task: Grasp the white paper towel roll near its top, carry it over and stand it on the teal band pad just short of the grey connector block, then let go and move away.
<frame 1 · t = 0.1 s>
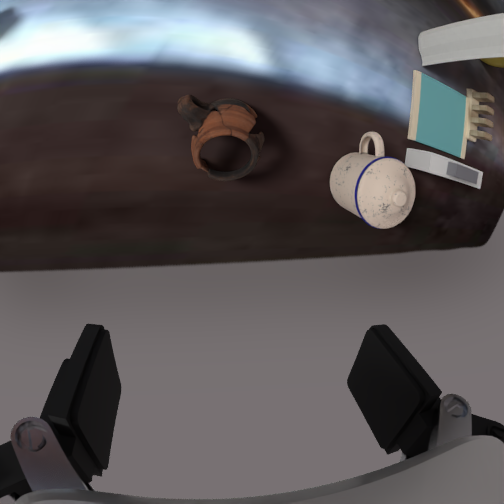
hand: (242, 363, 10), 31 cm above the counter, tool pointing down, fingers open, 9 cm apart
cable comb: (469, 114, 39), on the counter
teacup with lid: (354, 171, 40), on the counter
flower pot: (480, 48, 34), on the counter
band pad: (441, 116, 38), on the counter
paper towel roll: (427, 47, 34), on the counter
connector block: (434, 165, 42), on the counter
pottery mug: (218, 130, 36), on the counter
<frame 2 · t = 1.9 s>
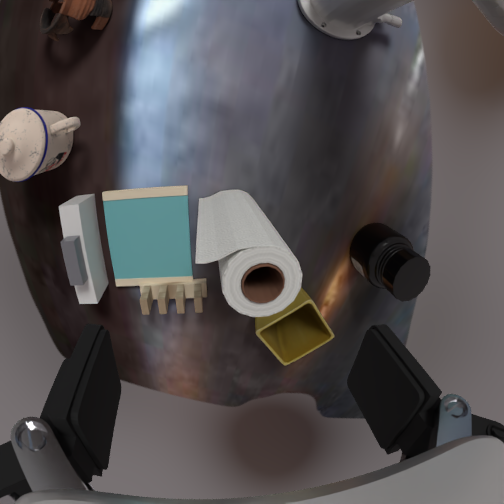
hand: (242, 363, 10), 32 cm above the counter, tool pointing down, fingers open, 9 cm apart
cable comb: (174, 286, 44), on the counter
teacup with lid: (58, 136, 33), on the counter
flower pot: (281, 301, 48), on the counter
band pad: (148, 238, 40), on the counter
ink bottle: (370, 246, 47), on the counter
paper towel roll: (231, 206, 41), on the counter
connector block: (91, 241, 39), on the counter
pottery mug: (86, 11, 26), on the counter
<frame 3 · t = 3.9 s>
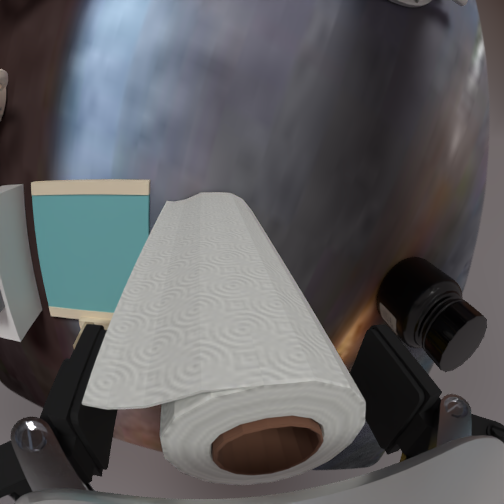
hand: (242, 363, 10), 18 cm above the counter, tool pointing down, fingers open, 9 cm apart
cable comb: (126, 325, 29), on the counter
band pad: (91, 254, 25), on the counter
ink bottle: (403, 287, 33), on the counter
paper towel roll: (216, 218, 26), on the counter, touching gripper
connector block: (19, 251, 24), on the counter
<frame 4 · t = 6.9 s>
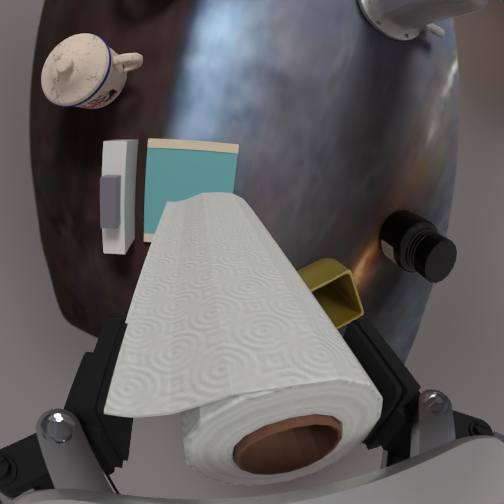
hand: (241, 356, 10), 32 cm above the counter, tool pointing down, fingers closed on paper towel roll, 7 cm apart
teacup with lid: (108, 77, 31), on the counter
flower pot: (310, 277, 48), on the counter
band pad: (188, 193, 39), on the counter
ink bottle: (397, 233, 47), on the counter
paper towel roll: (217, 218, 26), point 15 cm above the counter, touching gripper
connector block: (125, 189, 38), on the counter
when the fingers open (19 cm above the counter, at t = 9.4 s): paper towel roll drops 1 cm, resting on band pad.
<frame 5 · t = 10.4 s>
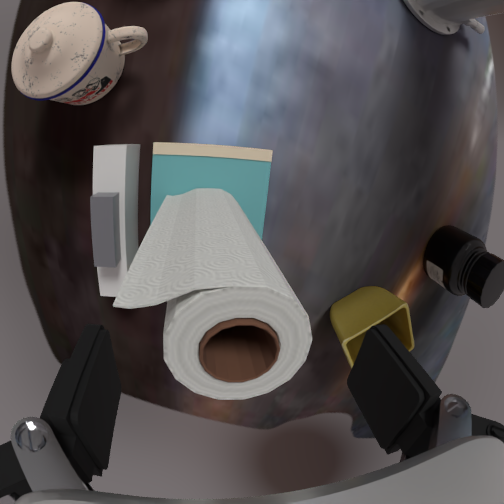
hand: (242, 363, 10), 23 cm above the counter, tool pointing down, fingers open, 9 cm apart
teacup with lid: (100, 64, 23), on the counter
flower pot: (350, 307, 39), on the counter
band pad: (207, 213, 31), on the counter
ink bottle: (440, 251, 39), on the counter
paper towel roll: (209, 210, 31), resting on band pad
connector block: (124, 210, 29), on the counter
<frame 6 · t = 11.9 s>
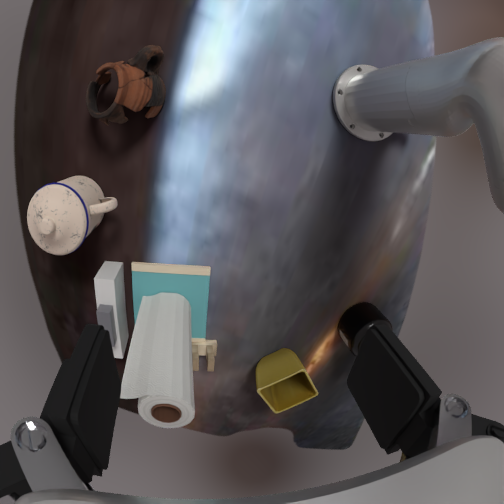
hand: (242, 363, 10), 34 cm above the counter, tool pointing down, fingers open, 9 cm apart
cable comb: (187, 344, 49), on the counter
teacup with lid: (88, 202, 38), on the counter
flower pot: (276, 359, 55), on the counter
band pad: (170, 305, 46), on the counter
ink bottle: (356, 319, 55), on the counter
paper towel roll: (170, 304, 46), resting on band pad
connector block: (116, 301, 44), on the counter
pottery mug: (135, 88, 34), on the counter
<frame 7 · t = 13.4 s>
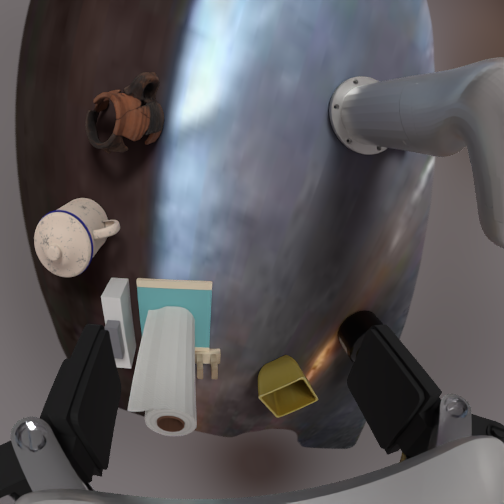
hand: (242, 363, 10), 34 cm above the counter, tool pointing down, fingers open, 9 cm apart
cable comb: (192, 353, 52), on the counter
teacup with lid: (92, 222, 40), on the counter
flower pot: (278, 366, 56), on the counter
band pad: (174, 317, 48), on the counter
ink bottle: (356, 327, 56), on the counter
paper towel roll: (175, 317, 48), resting on band pad
connector block: (123, 314, 47), on the counter
pottery mug: (134, 114, 36), on the counter
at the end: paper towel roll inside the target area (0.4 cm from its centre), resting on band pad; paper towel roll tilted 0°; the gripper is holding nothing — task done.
